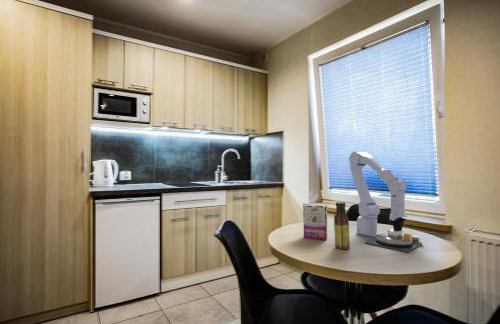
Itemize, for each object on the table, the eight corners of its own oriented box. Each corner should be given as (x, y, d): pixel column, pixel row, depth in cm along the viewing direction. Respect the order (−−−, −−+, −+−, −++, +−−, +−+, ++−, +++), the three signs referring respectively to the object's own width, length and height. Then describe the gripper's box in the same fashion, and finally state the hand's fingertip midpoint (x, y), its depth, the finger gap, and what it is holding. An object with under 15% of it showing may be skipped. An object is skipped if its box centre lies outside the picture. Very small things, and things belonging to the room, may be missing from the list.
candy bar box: (327, 238, 133) (327, 205, 133) (326, 240, 129) (326, 206, 129) (305, 235, 137) (305, 203, 138) (303, 238, 133) (303, 205, 133)
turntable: (370, 241, 123) (369, 231, 124) (383, 235, 134) (383, 226, 134) (405, 248, 112) (405, 237, 112) (417, 241, 122) (417, 231, 122)
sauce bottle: (349, 246, 119) (349, 201, 119) (350, 250, 113) (349, 203, 113) (334, 245, 121) (334, 201, 121) (333, 249, 115) (333, 203, 116)
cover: (385, 237, 124) (385, 230, 124) (390, 234, 128) (390, 228, 128) (399, 239, 119) (399, 232, 119) (404, 237, 124) (403, 230, 124)
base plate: (365, 243, 124) (365, 236, 124) (381, 236, 136) (381, 229, 136) (408, 252, 110) (408, 244, 110) (422, 244, 122) (421, 236, 122)
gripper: (401, 207, 119) (401, 238, 119) (412, 204, 129) (412, 232, 129) (384, 205, 124) (385, 235, 124) (396, 202, 134) (396, 229, 134)
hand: (397, 233), depth 127 cm, fingers closed
